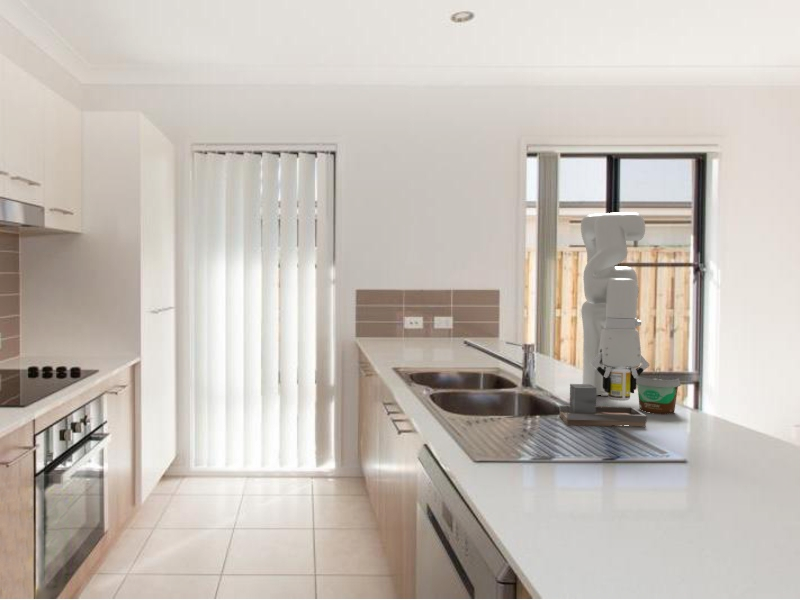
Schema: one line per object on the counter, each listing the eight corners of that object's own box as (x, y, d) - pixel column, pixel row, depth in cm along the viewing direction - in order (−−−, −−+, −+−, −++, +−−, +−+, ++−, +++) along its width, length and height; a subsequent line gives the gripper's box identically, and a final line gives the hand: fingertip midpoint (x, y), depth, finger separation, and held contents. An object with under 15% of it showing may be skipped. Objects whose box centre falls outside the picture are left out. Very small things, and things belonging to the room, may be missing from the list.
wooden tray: (559, 415, 167) (559, 382, 167) (632, 417, 166) (633, 383, 166) (567, 425, 156) (568, 389, 156) (646, 427, 155) (647, 390, 155)
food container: (631, 412, 173) (632, 377, 173) (634, 408, 179) (635, 374, 178) (678, 417, 167) (679, 381, 167) (679, 412, 173) (680, 378, 173)
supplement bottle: (625, 397, 163) (626, 359, 163) (633, 401, 158) (634, 362, 157) (605, 396, 163) (605, 359, 163) (612, 400, 158) (612, 362, 157)
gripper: (648, 324, 163) (646, 390, 164) (584, 323, 164) (583, 388, 165) (658, 326, 156) (657, 395, 156) (591, 325, 157) (590, 394, 157)
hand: (619, 391), depth 161 cm, fingers closed on supplement bottle, 5 cm apart
